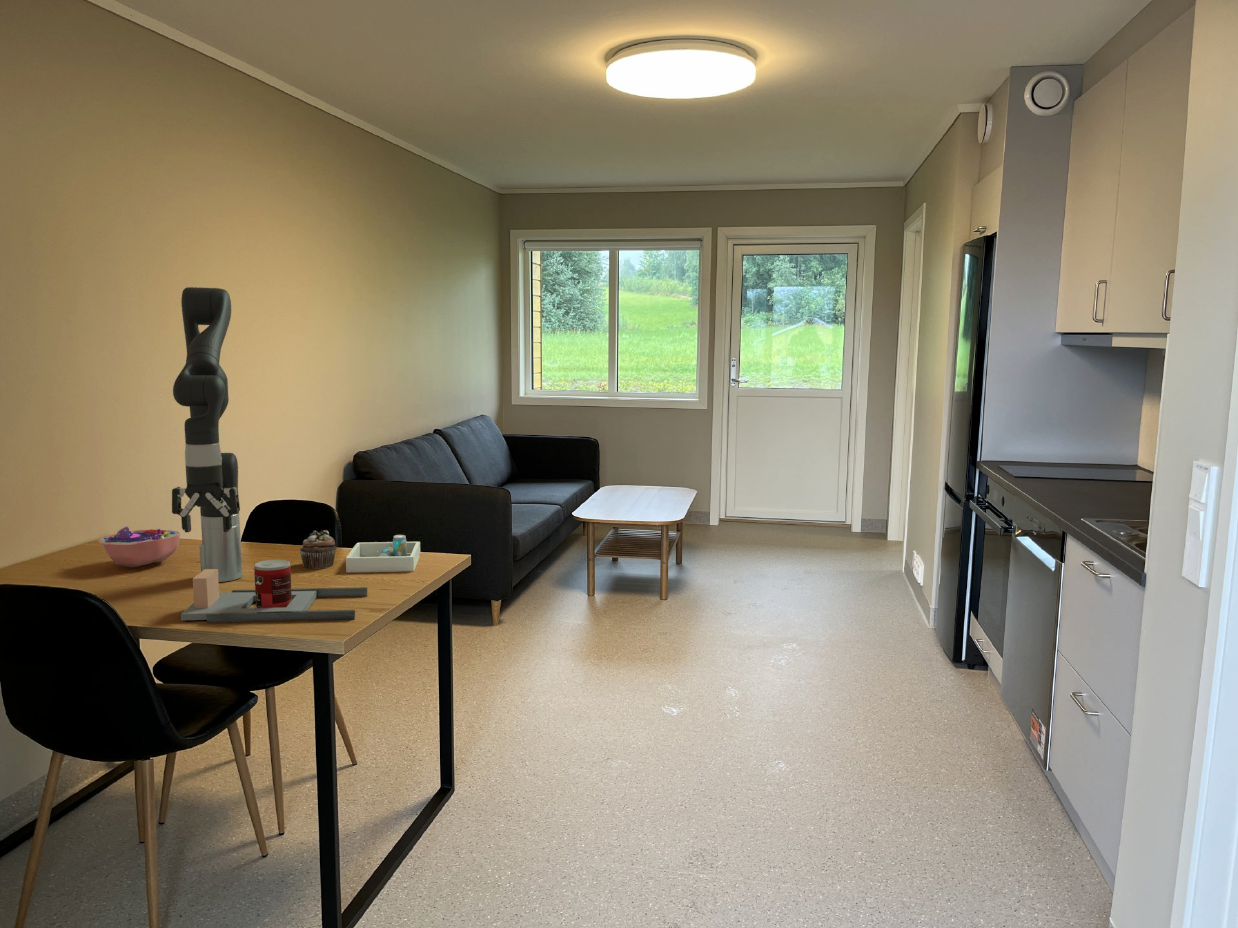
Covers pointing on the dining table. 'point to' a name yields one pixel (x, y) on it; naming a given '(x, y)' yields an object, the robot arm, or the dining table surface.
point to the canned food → (272, 584)
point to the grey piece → (233, 599)
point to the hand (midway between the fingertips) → (207, 531)
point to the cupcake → (318, 550)
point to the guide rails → (294, 614)
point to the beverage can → (395, 547)
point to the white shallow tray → (381, 558)
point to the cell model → (140, 546)
